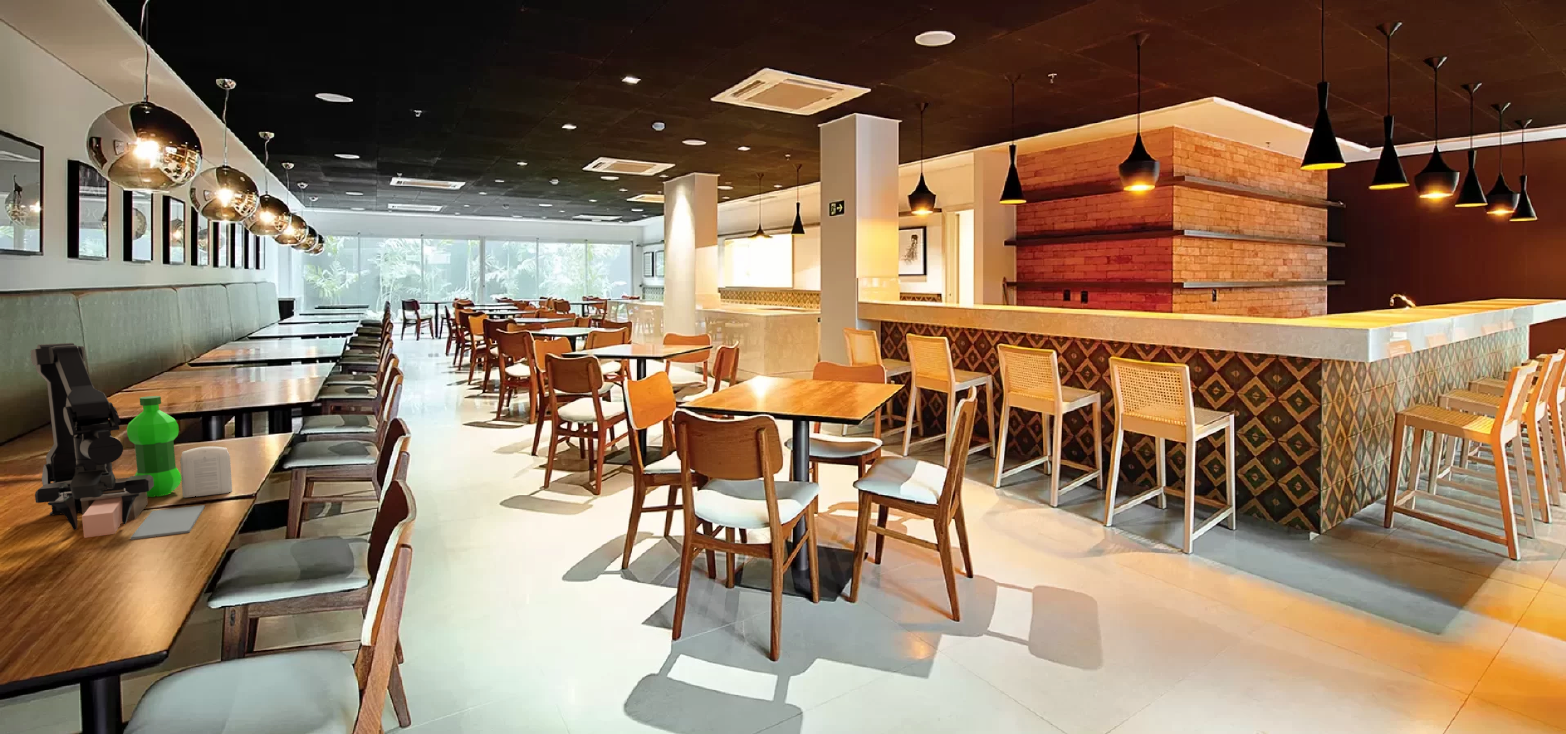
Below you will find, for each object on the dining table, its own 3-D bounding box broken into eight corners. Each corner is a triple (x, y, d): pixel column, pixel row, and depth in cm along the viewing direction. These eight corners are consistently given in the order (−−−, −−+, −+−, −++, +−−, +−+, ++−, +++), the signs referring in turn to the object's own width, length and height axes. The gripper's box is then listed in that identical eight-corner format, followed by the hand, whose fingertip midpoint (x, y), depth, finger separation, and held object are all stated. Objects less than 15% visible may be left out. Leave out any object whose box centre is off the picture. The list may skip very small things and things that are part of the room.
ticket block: (84, 538, 166) (81, 516, 165) (100, 517, 180) (97, 496, 179) (114, 534, 168) (112, 512, 168) (127, 514, 183) (125, 493, 182)
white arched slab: (233, 489, 203) (229, 443, 202) (232, 493, 199) (228, 446, 198) (183, 495, 197) (179, 447, 196) (182, 499, 194) (177, 450, 192)
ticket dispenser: (82, 525, 173) (79, 493, 172) (99, 509, 185) (96, 479, 184) (134, 519, 178) (131, 488, 177) (147, 504, 190) (145, 474, 189)
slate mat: (130, 539, 165) (130, 537, 165) (152, 512, 183) (152, 510, 183) (189, 532, 169) (189, 530, 169) (204, 507, 188) (204, 505, 188)
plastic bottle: (134, 502, 191) (124, 401, 188) (132, 493, 199) (123, 396, 196) (185, 494, 198) (176, 397, 195) (181, 486, 206) (173, 392, 203)
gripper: (21, 469, 156) (30, 544, 158) (139, 459, 165) (146, 530, 167) (40, 458, 166) (48, 528, 168) (151, 449, 175) (157, 516, 177)
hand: (100, 526), depth 170 cm, fingers open, 8 cm apart
